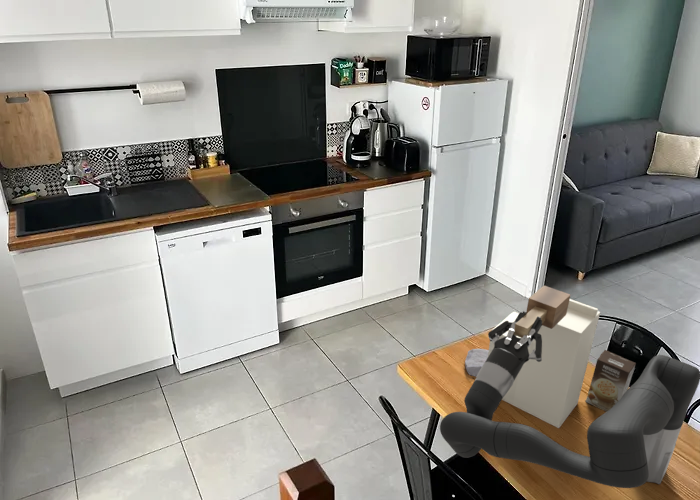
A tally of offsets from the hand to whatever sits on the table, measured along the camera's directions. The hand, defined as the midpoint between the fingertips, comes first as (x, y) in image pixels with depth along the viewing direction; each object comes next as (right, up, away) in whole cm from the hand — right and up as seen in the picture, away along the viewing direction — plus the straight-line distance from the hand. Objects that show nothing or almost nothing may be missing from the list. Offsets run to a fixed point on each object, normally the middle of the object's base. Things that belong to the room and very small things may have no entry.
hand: (532, 316), depth 130 cm
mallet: (+3, -3, +5) cm, 6 cm away
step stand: (+11, -29, +34) cm, 46 cm away
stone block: (-1, -23, +48) cm, 53 cm away
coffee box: (+32, -30, +32) cm, 54 cm away
